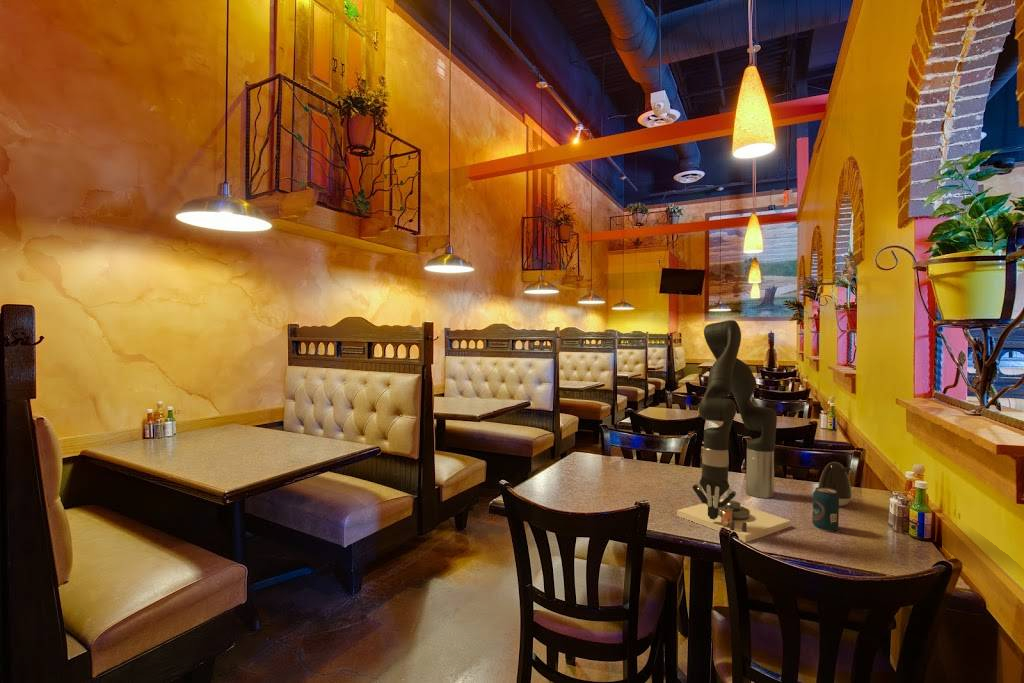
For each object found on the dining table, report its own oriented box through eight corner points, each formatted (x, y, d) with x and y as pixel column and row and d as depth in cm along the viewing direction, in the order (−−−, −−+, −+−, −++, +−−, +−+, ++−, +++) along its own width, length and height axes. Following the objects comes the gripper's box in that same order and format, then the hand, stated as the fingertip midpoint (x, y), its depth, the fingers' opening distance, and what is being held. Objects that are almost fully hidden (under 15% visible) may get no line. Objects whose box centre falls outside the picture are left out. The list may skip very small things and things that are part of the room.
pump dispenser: (840, 510, 171) (841, 466, 171) (811, 501, 180) (812, 459, 180) (858, 506, 175) (859, 464, 175) (829, 498, 185) (830, 457, 185)
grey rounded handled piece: (718, 506, 165) (719, 494, 165) (751, 512, 160) (752, 500, 160) (708, 522, 151) (708, 508, 151) (743, 529, 145) (744, 515, 145)
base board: (721, 504, 175) (722, 491, 175) (790, 526, 155) (790, 512, 155) (677, 516, 162) (677, 502, 162) (745, 542, 142) (745, 527, 142)
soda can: (807, 524, 158) (808, 486, 157) (827, 523, 158) (828, 486, 158) (822, 532, 151) (823, 493, 151) (843, 532, 151) (844, 493, 151)
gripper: (689, 461, 152) (687, 517, 152) (736, 469, 145) (733, 527, 145) (695, 456, 158) (693, 510, 159) (740, 464, 151) (738, 520, 151)
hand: (712, 518), depth 152 cm, fingers closed
